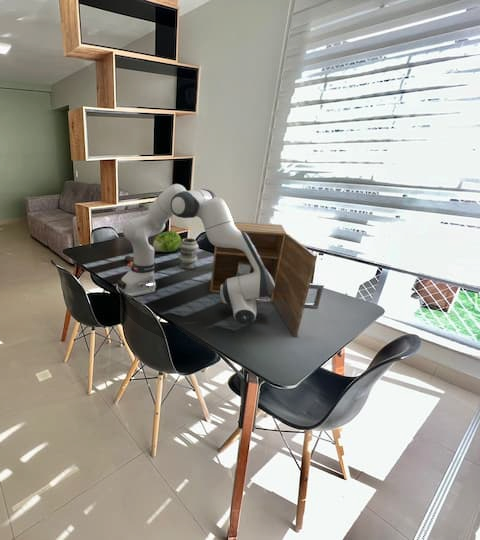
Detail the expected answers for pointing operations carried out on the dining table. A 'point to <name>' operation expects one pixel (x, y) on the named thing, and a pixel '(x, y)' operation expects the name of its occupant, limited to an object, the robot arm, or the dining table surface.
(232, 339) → the dining table surface
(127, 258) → the ice cream bar
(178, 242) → the lettuce
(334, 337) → the dining table surface
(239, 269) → the syrup box
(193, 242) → the ribbed grey vase
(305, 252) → the cabinet door
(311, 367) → the dining table surface
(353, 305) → the dining table surface
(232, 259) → the cabinet
